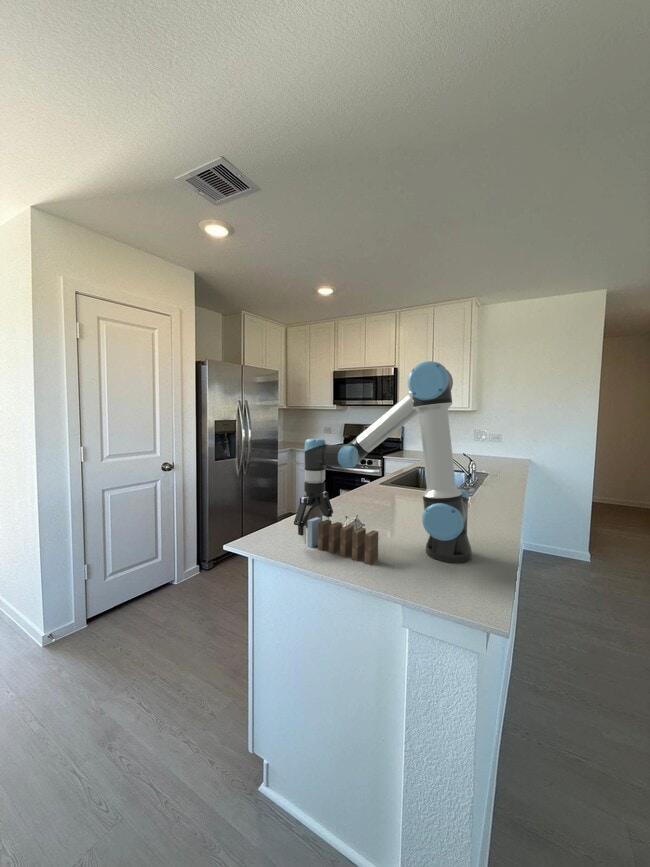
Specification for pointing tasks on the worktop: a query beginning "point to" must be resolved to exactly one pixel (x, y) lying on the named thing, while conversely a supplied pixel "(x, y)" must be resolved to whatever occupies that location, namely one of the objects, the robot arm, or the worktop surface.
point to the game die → (353, 522)
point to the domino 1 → (313, 532)
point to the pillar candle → (314, 514)
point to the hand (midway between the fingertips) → (314, 538)
